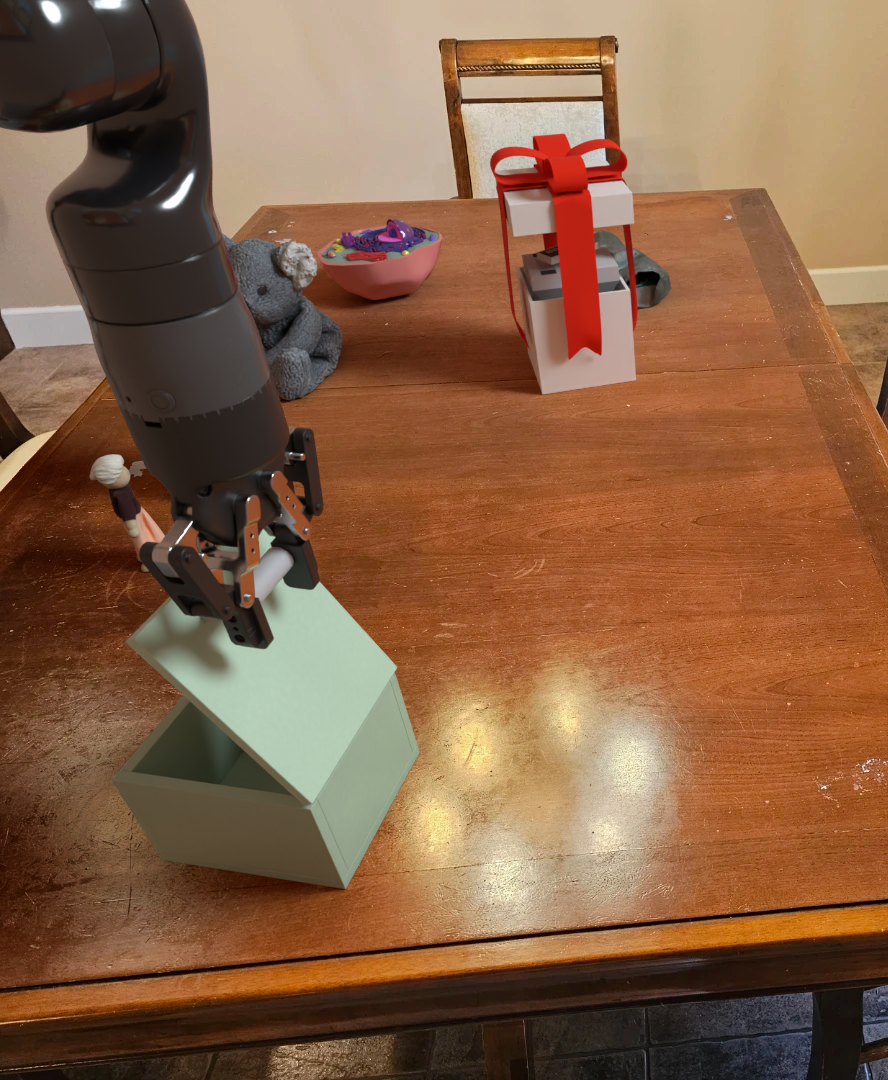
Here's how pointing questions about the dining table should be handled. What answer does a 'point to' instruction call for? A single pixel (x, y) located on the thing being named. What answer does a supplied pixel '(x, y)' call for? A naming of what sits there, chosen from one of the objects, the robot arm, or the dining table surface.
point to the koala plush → (286, 313)
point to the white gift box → (570, 262)
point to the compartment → (265, 797)
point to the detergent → (638, 271)
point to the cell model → (382, 259)
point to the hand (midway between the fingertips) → (280, 613)
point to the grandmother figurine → (126, 502)
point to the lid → (275, 674)
